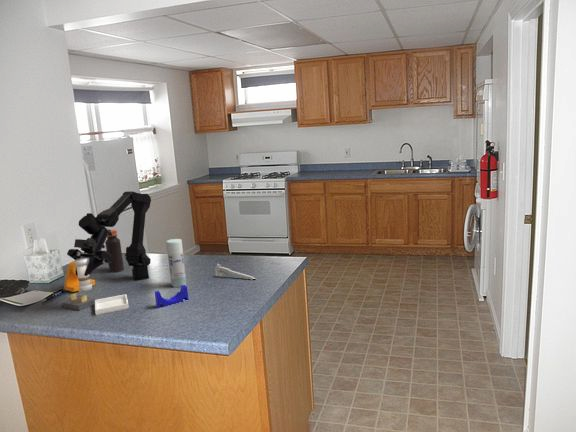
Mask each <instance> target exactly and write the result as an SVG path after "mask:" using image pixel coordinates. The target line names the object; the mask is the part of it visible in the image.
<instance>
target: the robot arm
mask: <svg viewBox="0 0 576 432" xmlns="http://www.w3.org/2000/svg"><path fill="white" fill-rule="evenodd" d="M151 202H152V197H151V196H150V195H149V194H148V193H140V192H137V191H129V190H128V191H124V192H123V193H122V195H121V196H120V197H119V198H118V199H117V200H116V201H115V202H114V203H113V204H112V205H111V206H110V207H109V208H107V209H104V210H102V211H101V212H99V213H98V214H96V216H95V215H94V214H93V213H91V212H90V213H86V214H85V215H84V216H83V217H81V218H80V219H79V221H78V226H79V227H80V228H81V229H82V230H84V232H85V233H87V234H88V235H90V237H88V238H86V239H80V238H79V239H78V238H76V239H74V246H73V247H74V248H70V249H68V251H67V253H66V255H68V257H70V258H71V259H73V260H74V261H75V260H76V259H79V258H88V266H87V269H86V271H85V274H84V275H85V276H87V275H89V274H90V275H91V273H92V272H94V271H95V270H96V269H97V268H99V267H100V266H101V265H104V263H105V264H108V263H111V262H112V260H113V257H112V255H110V254H109V253H108V252H107V251H106V250H102V249H106V245H105V242H106V240H107V236H112V233H111V230H112V229H108V228H114V227H115V226H116V225H117V223H118V222H119V218H120V215H121V214H122V213H123V212H124V211H125V210H126V208H127V207H129V206H130V205H131V209H132V211H133V221H132V223H133V224H132V233H131V242H130V244H129V246H126V247H125V254H124V256H125V260H126V262H127V264H128V266H129V267H132V268H131V274H132V279H134V281H141V280H144V279H145V280H146V279H150V276H149V270H148V266H149V265H150V264H151V258H150V257H149V256H148V255H147V253H146V251H147V250H146V248H145V246H144V236H145V235H144V234H145V225H146V224H145V223H146V214H147V212H148V210H149V209H150V207H151ZM79 249H80V250H79ZM82 251H83V252H82ZM75 270H76V273H75V274H76V275H78V273H77V267H76V269H75Z"/></svg>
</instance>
